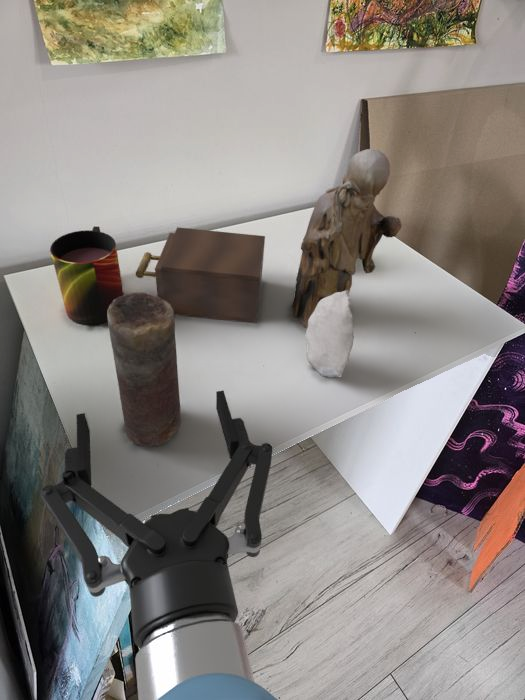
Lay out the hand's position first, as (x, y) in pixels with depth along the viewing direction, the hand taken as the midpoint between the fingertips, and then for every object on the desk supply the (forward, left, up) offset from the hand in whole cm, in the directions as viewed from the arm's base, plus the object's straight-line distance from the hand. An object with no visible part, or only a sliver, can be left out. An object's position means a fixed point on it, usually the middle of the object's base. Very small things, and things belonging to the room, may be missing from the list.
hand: (153, 410), depth 50 cm
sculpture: (+21, +37, -15) cm, 45 cm away
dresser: (+1, +39, -15) cm, 42 cm away
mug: (-20, +34, -15) cm, 43 cm away
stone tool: (+20, +23, -15) cm, 34 cm away
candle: (-3, +9, -15) cm, 18 cm away
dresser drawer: (-3, +39, -14) cm, 42 cm away
